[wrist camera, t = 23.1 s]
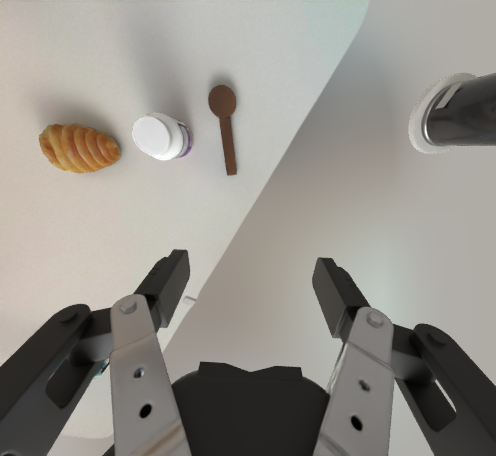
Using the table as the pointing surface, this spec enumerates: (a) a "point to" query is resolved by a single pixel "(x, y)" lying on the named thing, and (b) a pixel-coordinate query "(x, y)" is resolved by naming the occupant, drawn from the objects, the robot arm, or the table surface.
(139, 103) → the table surface
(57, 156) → the pastry
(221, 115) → the spoon
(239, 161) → the table surface
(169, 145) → the pill bottle
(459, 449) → the robot arm
